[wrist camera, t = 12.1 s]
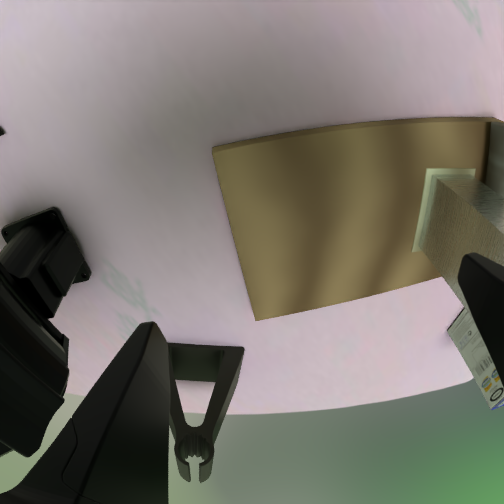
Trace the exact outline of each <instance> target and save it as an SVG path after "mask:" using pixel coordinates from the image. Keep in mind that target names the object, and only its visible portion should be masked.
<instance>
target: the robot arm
mask: <svg viewBox="0 0 504 504" xmlns="http://www.w3.org/2000/svg"><path fill="white" fill-rule="evenodd" d="M52 213H53V214H54V215H55V216H53V215H52ZM1 233H2V236H3V238H4V239H5V241H6V243H7V245H6V246H5V247H4V248H3V250H2V251H1V252H0V457H1V456H3V455H5V454H7V453H9V452H11V451H13V450H14V451H16V452H18V453H20V454H21V455H23V456H25V457H30V456H32V455H33V454H34V453H35V452H36V451H37V450H38V449H39V448H40V446H41V443H42V440H43V437H44V434H45V431H46V428H47V426H48V424H49V422H50V420H51V419H52V417H53V415H54V414H55V412H56V411H57V410H58V409H59V408H60V406H61V405H62V404H63V403H64V398H63V396H64V393H65V391H66V387H67V381H68V377H69V368H68V347H69V339H68V338H67V337H66V336H65V335H64V334H62V333H61V332H60V331H59V330H58V329H57V328H56V327H55V326H54V325H53V324H52V323H51V322H50V321H49V320H48V319H49V318H53V317H54V316H55V313H56V311H57V309H58V307H59V305H60V303H61V301H62V299H63V297H64V296H66V295H67V293H68V291H69V289H70V287H71V285H72V284H74V283H79V282H83V281H87V280H89V278H90V276H91V272H90V270H89V268H88V267H87V265H86V263H85V261H84V258H83V257H82V255H81V253H80V251H79V249H78V247H77V245H76V243H75V241H74V239H73V237H72V235H71V233H70V232H69V230H68V228H67V226H66V224H65V222H64V220H63V218H62V216H61V213H60V211H59V210H58V209H57V208H55V207H53V208H49V209H47V210H44V211H41V212H39V213H36V214H34V215H31V216H29V217H26V218H24V219H21V220H19V221H16V222H14V223H11V224H9V225H6V226H5V227H4V228H3V229H2V231H1ZM83 273H84V274H86V275H84V274H83ZM457 279H458V284H459V286H460V288H461V291H462V293H463V295H464V298H465V300H466V302H467V305H468V307H469V310H470V312H471V315H472V317H473V320H474V322H475V324H476V327H477V329H478V331H479V333H480V335H481V337H482V339H483V341H484V343H485V345H486V348H487V350H488V352H489V354H490V356H491V359H492V361H493V363H494V366H495V368H496V370H497V373H498V375H499V378H500V380H501V383H502V385H503V388H504V266H502V265H500V264H498V263H496V262H494V261H492V260H490V259H488V258H486V257H484V256H482V255H480V254H478V253H476V252H472V253H468V254H465V255H464V256H463V257H462V260H461V264H460V268H459V272H458V276H457ZM169 418H170V379H169V361H168V345H167V341H166V339H165V337H164V335H163V334H162V332H161V330H160V329H159V327H158V325H157V324H156V323H155V322H153V321H151V322H144V323H141V324H140V325H139V326H138V327H137V328H136V330H135V331H134V332H133V334H132V335H131V336H130V337H129V339H128V340H127V341H126V343H125V344H124V345H123V347H122V348H121V349H120V351H119V352H118V353H117V355H116V356H115V357H114V359H113V360H112V361H111V363H110V364H109V365H108V367H107V368H106V369H105V371H104V372H103V374H102V375H101V376H100V378H99V379H98V380H97V382H96V383H95V384H94V386H93V387H92V389H91V390H90V391H89V393H88V394H87V396H86V397H85V398H84V400H83V401H82V403H81V404H80V405H79V407H78V408H77V410H76V411H75V413H74V414H73V415H72V418H70V419H69V421H68V422H67V424H66V425H65V427H64V428H63V429H62V431H61V432H60V434H59V435H58V436H57V438H56V439H55V441H54V442H53V443H52V444H51V446H50V447H49V448H48V450H47V451H46V452H45V453H44V454H43V456H42V457H41V458H40V459H39V460H38V462H37V463H36V464H35V465H34V467H33V468H32V469H31V470H30V471H29V473H28V474H27V475H26V476H25V478H24V479H23V480H22V481H21V482H20V483H19V484H18V485H17V486H16V487H14V488H13V489H11V490H9V491H7V492H4V493H1V494H0V504H168V452H169V447H168V446H169Z"/></svg>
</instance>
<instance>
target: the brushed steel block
mask: <svg viewBox="0 0 504 504" xmlns="http://www.w3.org/2000/svg"><path fill="white" fill-rule="evenodd" d="M418 246H419V248H420V249H421V250H422V251H423V253H424V254H425V255H426V256H427V258H428V259H429V260H430V261H431V263H432V264H433V265H434V266H435V268H436V269H437V270H438V272H439V273H440V274H441V276H442V277H443V278H444V279H445V281H446V282H447V283H448V285H449V286H450V288H451V289H452V290H453V292H454V293H455V294H456V296H457V297H458V299H459V300H460V301H461V303H462V304H463V306H464V307H465V309H466V310H467V311H468V313H469V314H470V316H471V317H472V315H471V312H470V310H469V307H468V305H467V302H466V300H465V298H464V295H463V293H462V291H461V288H460V286H459V284H458V279H457V276H458V272H459V268H460V264H461V260H462V257H463V256H464V255H465V254H468V253H472V252H476V253H478V254H480V255H482V256H484V257H486V258H488V259H490V260H492V261H494V262H496V263H498V264H500V265H502V266H504V198H502V197H501V196H500V195H499V194H497V193H496V192H495V191H493V190H492V189H490V188H489V187H488V186H486V185H485V184H484V183H482V182H481V181H479V180H478V179H477V178H475V177H474V176H472V175H471V174H437V175H432V177H431V184H430V190H429V196H428V201H427V207H426V212H425V217H424V222H423V226H422V231H421V236H420V240H419V244H418ZM472 319H473V317H472Z"/></svg>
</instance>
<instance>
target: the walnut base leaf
mask: <svg viewBox="0 0 504 504" xmlns="http://www.w3.org/2000/svg"><path fill="white" fill-rule="evenodd" d="M212 155H213V159H214V163H215V167H216V171H217V175H218V179H219V183H220V187H221V191H222V195H223V199H224V203H225V207H226V211H227V214H228V218H229V222H230V226H231V230H232V234H233V238H234V241H235V245H236V249H237V253H238V257H239V261H240V264H241V268H242V272H243V276H244V280H245V283H246V287H247V291H248V295H249V298H250V302H251V306H252V310H253V313H254V317H255V321H259V320H264V319H269V318H274V317H279V316H284V315H289V314H294V313H298V312H303V311H308V310H312V309H317V308H321V307H326V306H330V305H335V304H339V303H343V302H347V301H352V300H356V299H360V298H364V297H368V296H372V295H376V294H380V293H384V292H388V291H391V290H395V289H399V288H403V287H406V286H410V285H413V284H417V283H421V282H424V281H428V280H431V279H435V278H438V277H441V274H440V273H439V272H438V270H437V269H436V268H435V266H434V265H433V264H432V263H431V261H430V260H429V259H428V258H427V256H426V255H425V254H424V253H423V251H422V250H421V249H420V248H419V246H418V244H419V240H420V236H421V231H422V226H423V222H424V217H425V212H426V207H427V201H428V196H429V190H430V184H431V177H432V175H437V174H471V175H472V176H474V177H475V178H477V179H478V180H479V181H481V182H482V183H484V184H485V185H486V186H488V187H489V188H490V189H492V190H493V191H495V192H496V193H497V194H499V195H500V196H501V197H502V198H504V122H503V121H501V120H498V119H496V118H488V117H441V118H415V119H398V120H385V121H373V122H363V123H353V124H344V125H336V126H328V127H321V128H314V129H307V130H300V131H294V132H288V133H282V134H276V135H270V136H265V137H259V138H254V139H249V140H244V141H239V142H234V143H230V144H225V145H221V146H216V147H213V148H212Z"/></svg>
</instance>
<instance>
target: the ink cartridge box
mask: <svg viewBox="0 0 504 504" xmlns="http://www.w3.org/2000/svg"><path fill="white" fill-rule="evenodd" d="M448 334H449V335H450V337H451V339H452V340H453V342H454V343H455V345H456V347H457V348H458V350H459V352H460V354H461V355H462V357H463V359H464V361H465V362H466V364H467V366H468V368H469V369H470V371H471V373H472V375H473V376H474V378H475V380H476V382H477V384H478V386H479V388H480V390H481V392H482V394H483V396H484V397H485V399H486V402H487V404H488V405H489V408H490V409H491V410H493V409H495V408H498V407H501V406H504V388H503V385H502V383H501V380H500V378H499V375H498V373H497V370H496V368H495V366H494V363H493V361H492V359H491V356H490V354H489V352H488V350H487V348H486V345H485V343H484V341H483V339H482V337H481V335H480V333H479V331H478V329H477V327H476V324H475V322H474V320H473V319H472V317H471V316H470V314H469V313H468V311H467V310H466V309H464V310H463V312H462V313H461V314H460V316H459V317H458V318H457V320H456V321H455V322H454V323H453V325H452V326H451V327H450V329H449V330H448Z"/></svg>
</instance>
